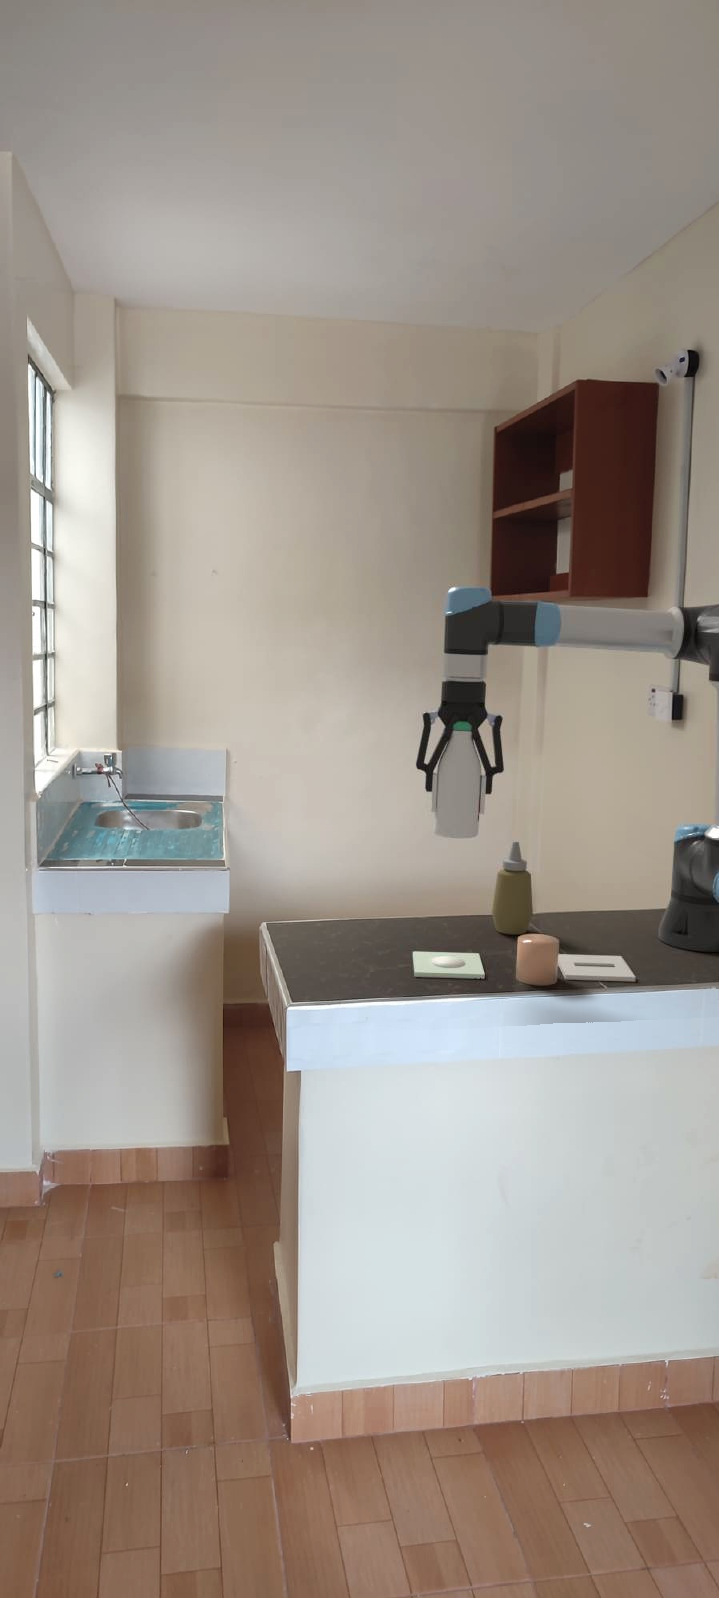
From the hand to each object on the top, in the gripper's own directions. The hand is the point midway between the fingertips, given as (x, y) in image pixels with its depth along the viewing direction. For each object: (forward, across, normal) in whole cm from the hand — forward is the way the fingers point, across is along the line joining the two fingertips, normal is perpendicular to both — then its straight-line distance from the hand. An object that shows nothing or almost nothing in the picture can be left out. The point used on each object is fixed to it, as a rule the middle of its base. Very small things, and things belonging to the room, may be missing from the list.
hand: (457, 811), depth 196 cm
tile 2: (+28, -26, -1) cm, 38 cm away
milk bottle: (+4, 0, 0) cm, 4 cm away
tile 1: (+28, 0, 0) cm, 28 cm away
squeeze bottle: (+28, -14, -24) cm, 39 cm away
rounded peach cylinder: (+28, -15, +5) cm, 32 cm away
